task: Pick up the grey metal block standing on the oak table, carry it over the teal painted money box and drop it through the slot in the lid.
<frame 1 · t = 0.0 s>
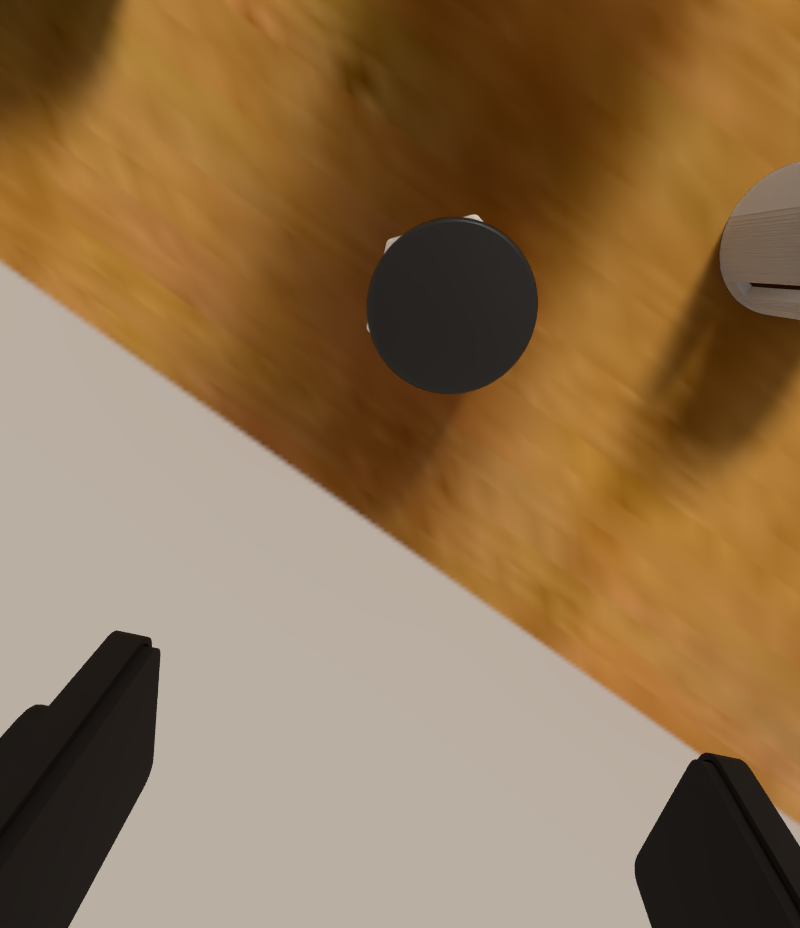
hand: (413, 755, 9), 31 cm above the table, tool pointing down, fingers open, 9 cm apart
cup: (792, 241, 34), on the table
jar: (443, 295, 37), on the table
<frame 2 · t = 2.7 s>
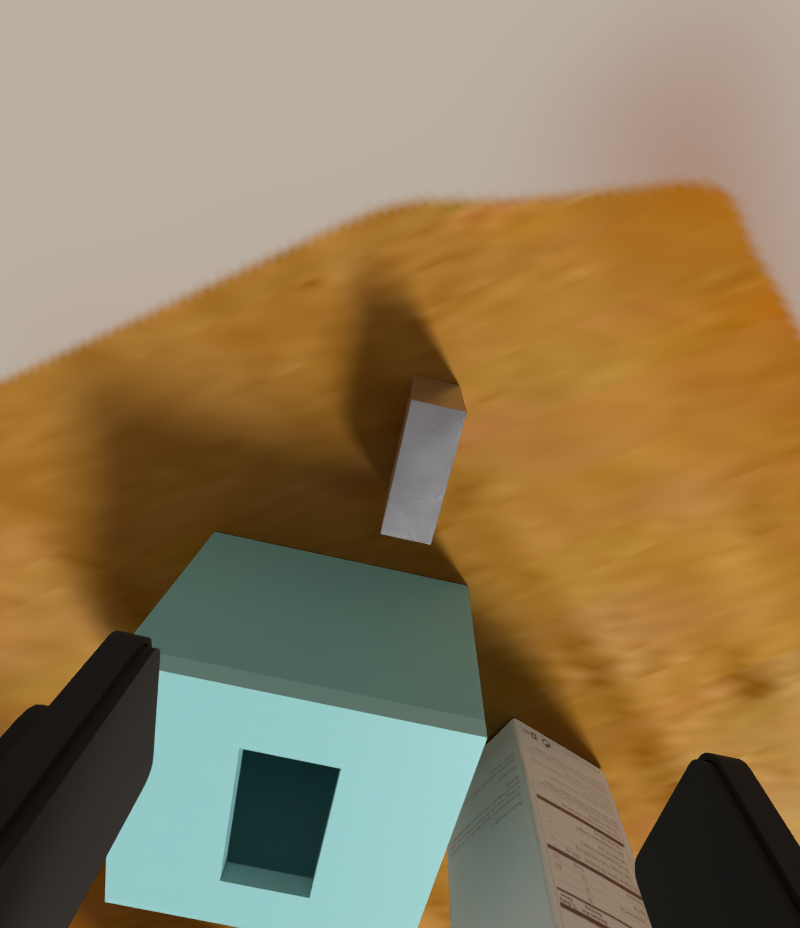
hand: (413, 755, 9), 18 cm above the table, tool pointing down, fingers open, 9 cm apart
coin box: (321, 660, 31), on the table
supplement box: (522, 773, 34), on the table
grey metal block: (422, 438, 26), on the table
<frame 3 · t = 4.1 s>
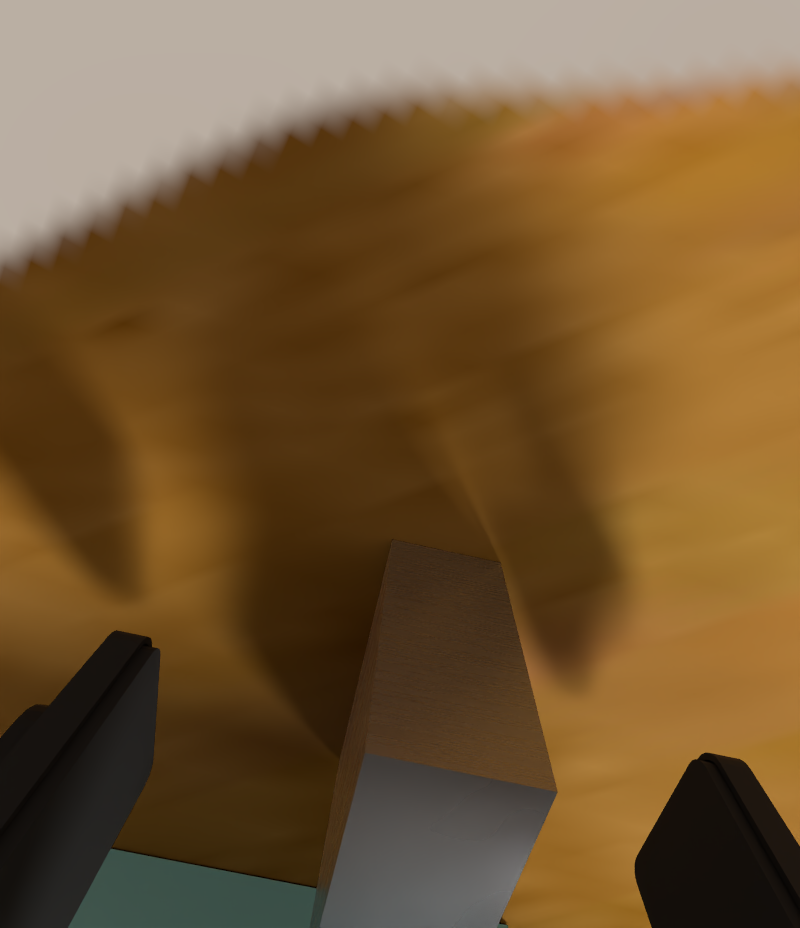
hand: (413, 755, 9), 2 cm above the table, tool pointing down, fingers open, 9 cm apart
grey metal block: (413, 667, 12), on the table
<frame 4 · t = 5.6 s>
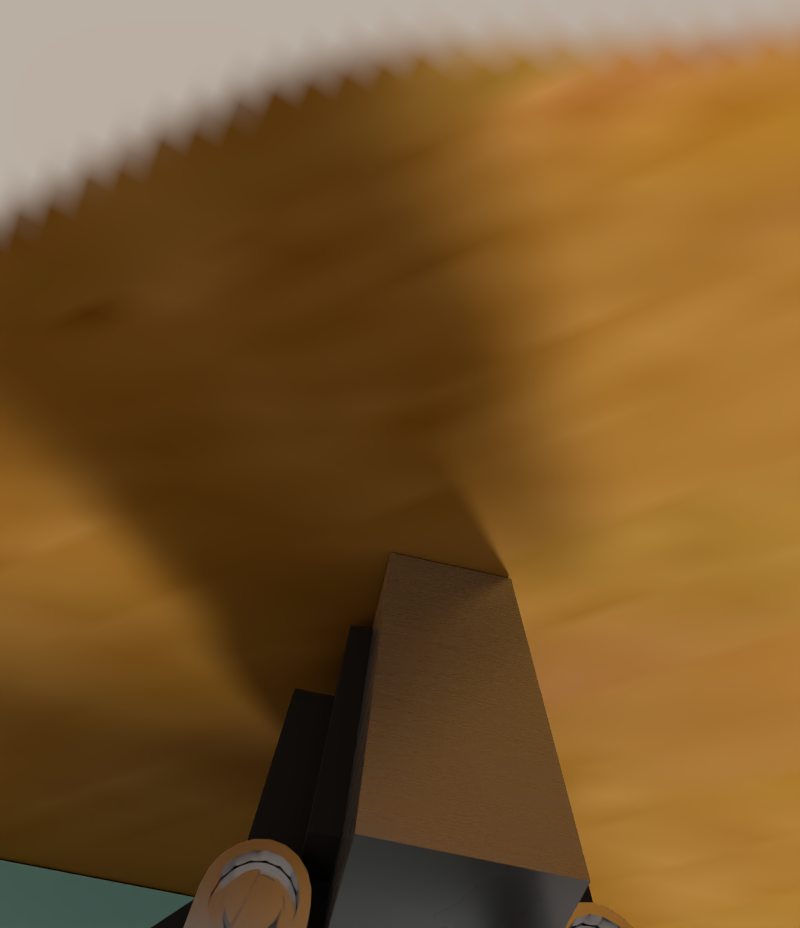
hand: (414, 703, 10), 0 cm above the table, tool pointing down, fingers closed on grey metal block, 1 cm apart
grey metal block: (413, 693, 11), on the table, touching gripper
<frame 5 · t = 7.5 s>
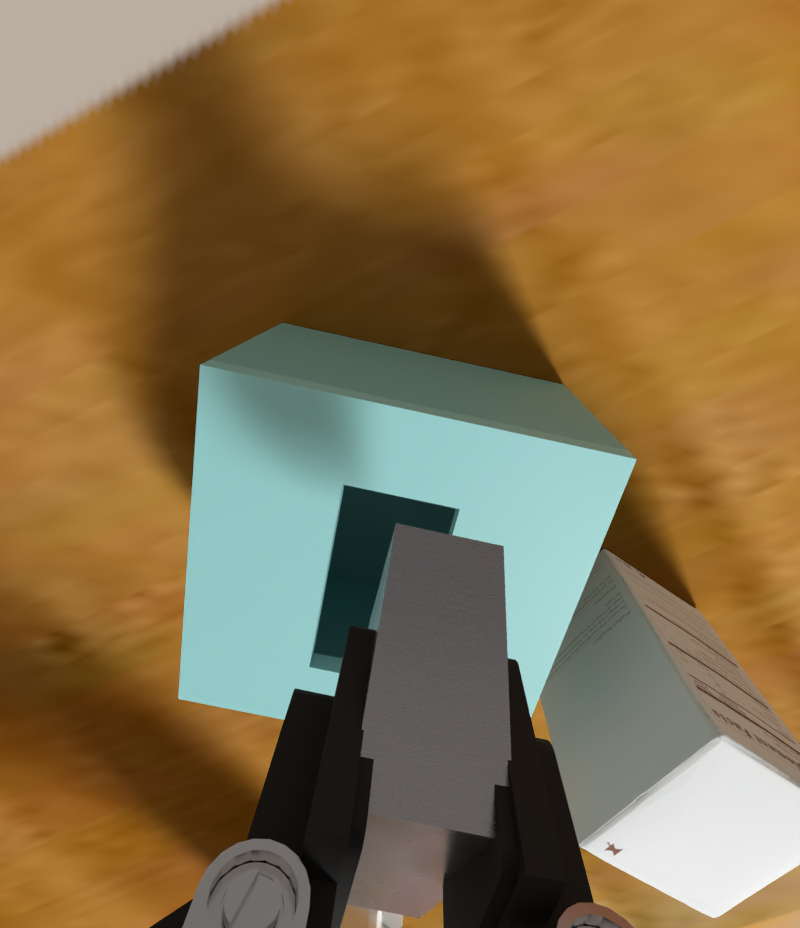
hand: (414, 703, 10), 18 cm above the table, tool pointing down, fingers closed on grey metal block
coin box: (395, 482, 29), on the table
supplement box: (608, 617, 31), on the table
grey metal block: (419, 615, 13), point 16 cm above the table, tilted 19°, touching gripper
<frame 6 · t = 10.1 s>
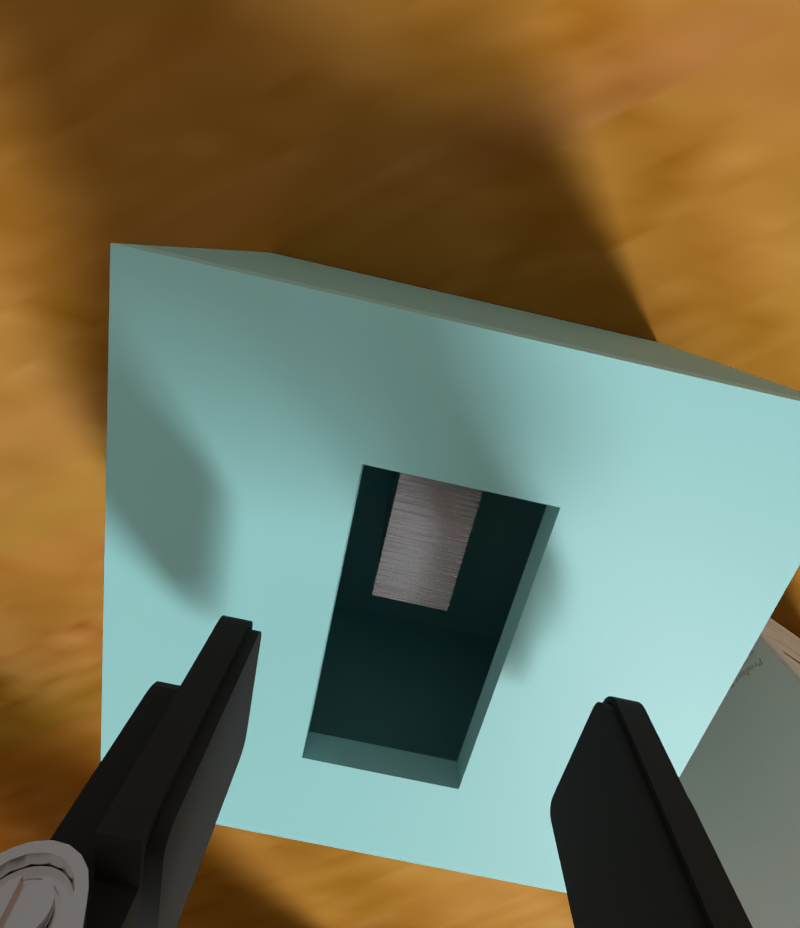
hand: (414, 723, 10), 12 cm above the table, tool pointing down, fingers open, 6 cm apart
coin box: (421, 477, 21), on the table
supplement box: (696, 658, 24), on the table
grey metal block: (448, 410, 16), point 4 cm above the table, tilted 90°, touching coin box
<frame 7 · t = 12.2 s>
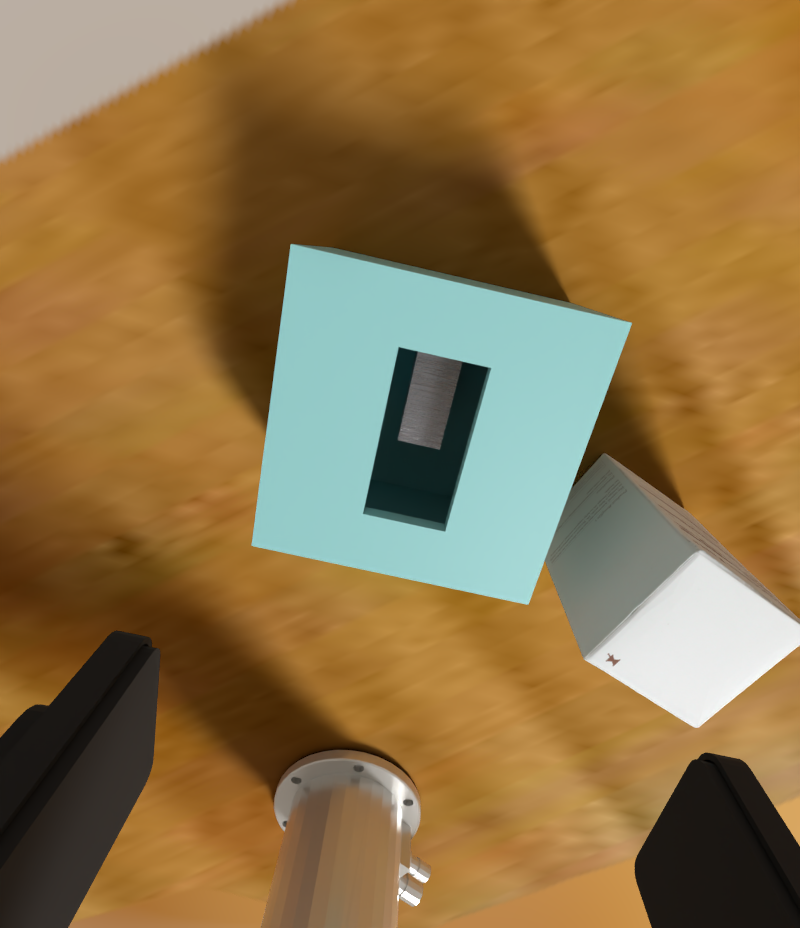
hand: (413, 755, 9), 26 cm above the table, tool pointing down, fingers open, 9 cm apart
coin box: (424, 392, 33), on the table
supplement box: (607, 518, 36), on the table
grey metal block: (440, 339, 28), point 4 cm above the table, tilted 90°, touching coin box
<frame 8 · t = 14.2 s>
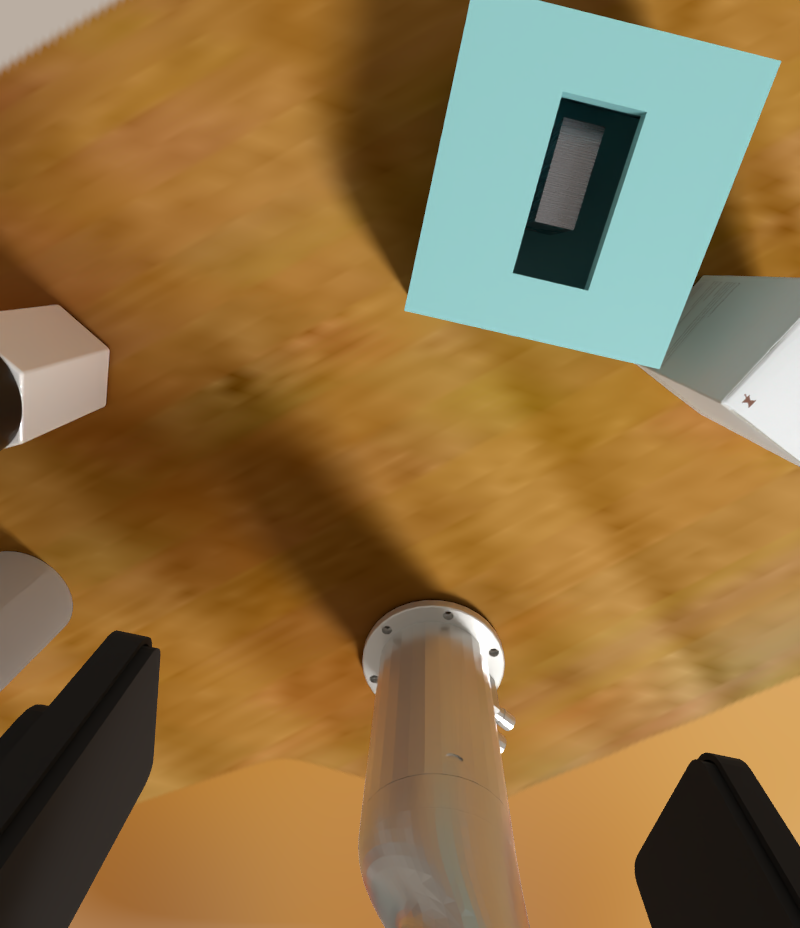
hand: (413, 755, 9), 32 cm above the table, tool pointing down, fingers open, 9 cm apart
coin box: (536, 213, 35), on the table
supplement box: (702, 346, 38), on the table
grey metal block: (570, 134, 30), point 4 cm above the table, tilted 90°, touching coin box
cup: (24, 594, 48), on the table
jar: (59, 363, 41), on the table
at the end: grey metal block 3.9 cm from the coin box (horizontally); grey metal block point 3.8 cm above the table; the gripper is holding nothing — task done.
